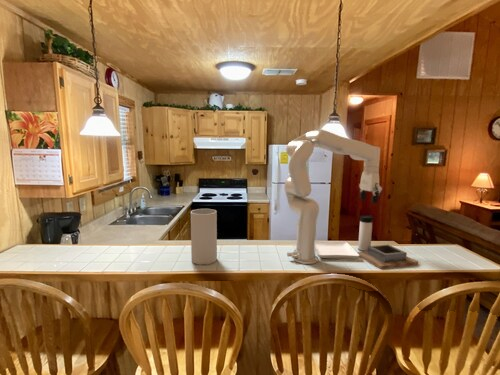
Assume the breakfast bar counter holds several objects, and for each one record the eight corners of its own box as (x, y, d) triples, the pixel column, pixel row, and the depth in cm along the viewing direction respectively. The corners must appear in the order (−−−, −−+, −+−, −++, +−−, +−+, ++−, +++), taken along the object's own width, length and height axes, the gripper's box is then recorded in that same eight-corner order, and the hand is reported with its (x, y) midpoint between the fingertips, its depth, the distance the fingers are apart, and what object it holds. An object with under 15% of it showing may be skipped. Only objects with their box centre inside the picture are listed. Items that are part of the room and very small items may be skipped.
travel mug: (372, 252, 149) (375, 216, 146) (360, 252, 149) (363, 216, 147) (368, 248, 155) (370, 214, 153) (356, 248, 155) (358, 214, 153)
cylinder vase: (203, 253, 145) (202, 207, 142) (221, 258, 139) (221, 210, 135) (186, 261, 134) (185, 212, 131) (205, 267, 128) (205, 215, 125)
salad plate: (360, 261, 138) (360, 255, 137) (318, 260, 138) (318, 254, 138) (346, 246, 159) (346, 241, 158) (309, 246, 159) (310, 240, 159)
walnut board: (380, 269, 128) (380, 266, 128) (356, 255, 145) (356, 252, 145) (418, 264, 134) (418, 261, 133) (390, 251, 151) (390, 249, 151)
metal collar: (384, 262, 132) (385, 255, 131) (367, 253, 144) (367, 246, 143) (405, 260, 135) (406, 252, 134) (387, 251, 147) (387, 244, 146)
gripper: (354, 168, 154) (352, 198, 156) (376, 170, 137) (373, 204, 139) (366, 168, 155) (364, 198, 158) (388, 170, 139) (386, 203, 141)
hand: (368, 201), depth 148 cm, fingers open, 9 cm apart
